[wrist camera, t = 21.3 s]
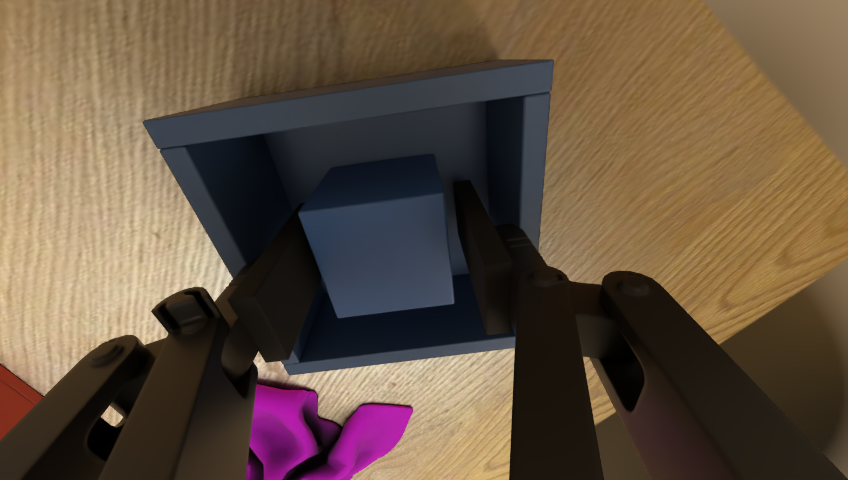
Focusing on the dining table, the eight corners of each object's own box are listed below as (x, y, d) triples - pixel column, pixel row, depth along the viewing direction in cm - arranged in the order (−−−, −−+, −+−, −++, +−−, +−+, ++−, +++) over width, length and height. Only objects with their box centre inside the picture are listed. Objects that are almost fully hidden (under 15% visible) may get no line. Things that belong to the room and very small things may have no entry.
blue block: (329, 167, 14) (296, 212, 10) (433, 152, 14) (444, 192, 10) (355, 253, 17) (337, 319, 13) (443, 242, 17) (455, 304, 13)
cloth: (297, 504, 35) (277, 583, 30) (131, 445, 27) (64, 539, 22) (453, 433, 28) (463, 519, 23) (293, 329, 21) (253, 422, 15)
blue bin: (237, 98, 13) (140, 121, 8) (500, 59, 13) (554, 59, 8) (318, 297, 19) (288, 376, 14) (500, 273, 19) (531, 346, 14)
